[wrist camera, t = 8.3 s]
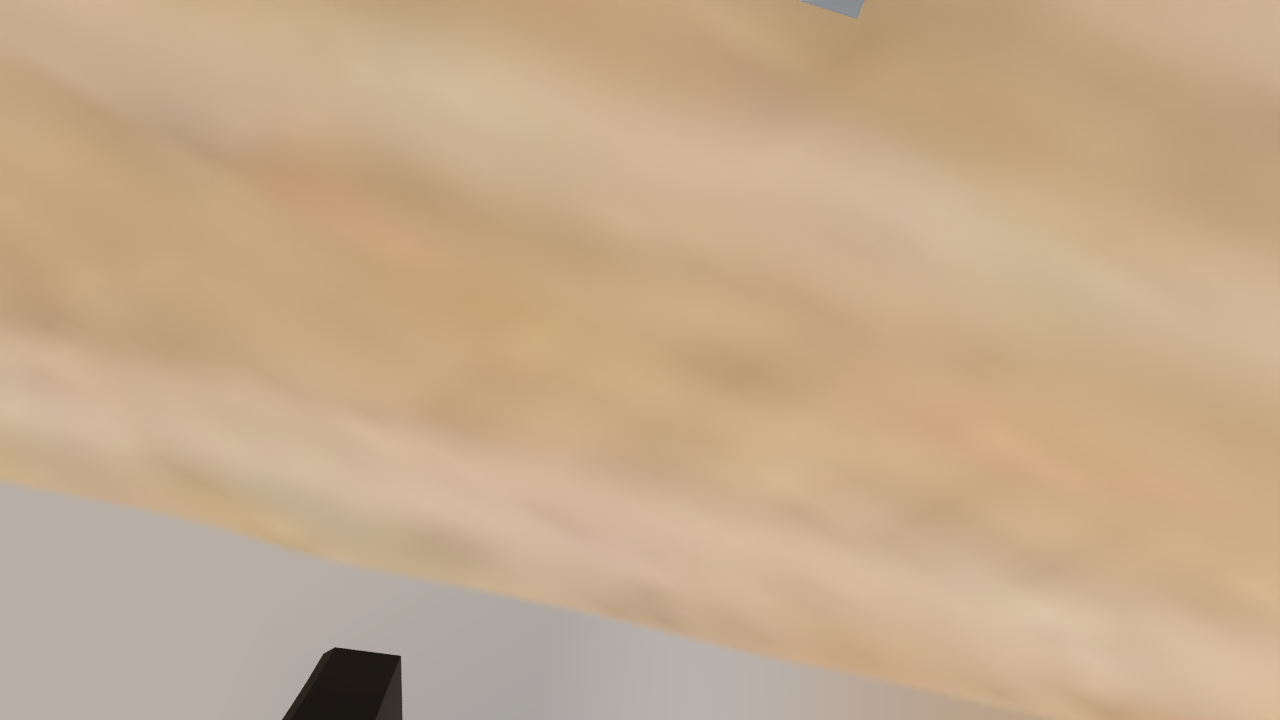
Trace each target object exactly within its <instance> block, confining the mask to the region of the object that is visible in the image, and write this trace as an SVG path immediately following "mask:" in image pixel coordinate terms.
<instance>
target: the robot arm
mask: <svg viewBox="0 0 1280 720" xmlns="http://www.w3.org/2000/svg"><path fill="white" fill-rule="evenodd" d="M401 685H402V684H401V656H397V655H390V654H382V653H374V652H366V651H358V650H351V649H343V648H336V647H335V648H333V649H331V650H330V651H328V652H326V653H324V654H323V656H322V657H321V659H320V661H319V662H318V664H317V666H316V667H315V669H314V671H313V672H312V674H311V676H310V678H309V679H308V681H307V682H306V684H305V685H304V687H303V688H302V690H301V692H300V693H299V695H298V696H297V698H296V700H295V701H294V703H293V704H292V706H291V707H290V709H289V710H288V712H287V713H286V715H285V716H284V718H283V719H282V720H402V686H401Z"/></svg>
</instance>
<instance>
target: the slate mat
mask: <svg viewBox="0 0 1280 720" xmlns="http://www.w3.org/2000/svg"><path fill="white" fill-rule="evenodd" d="M799 1H802V2H805V3H809V4H812V5H815V6H818V7H821V8H825V9H828V10H831V11H834V12H837V13H841V14H844V15H847V16H850V17H853V18H856V19H857V18H858V15H859V13H860V10H861V8H862V5H863V3H864V0H799Z"/></svg>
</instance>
